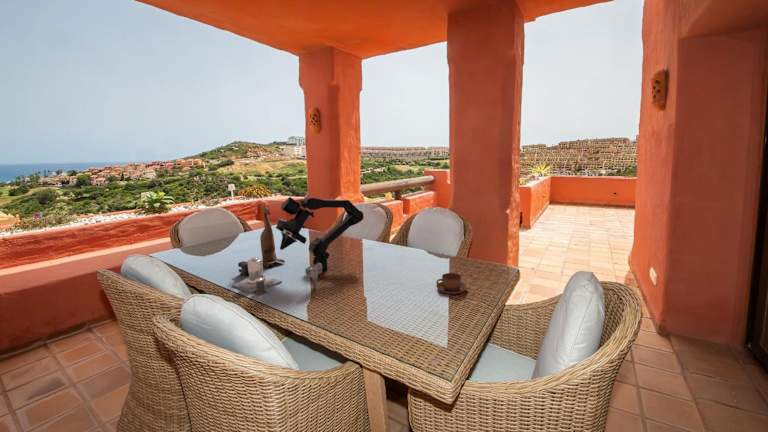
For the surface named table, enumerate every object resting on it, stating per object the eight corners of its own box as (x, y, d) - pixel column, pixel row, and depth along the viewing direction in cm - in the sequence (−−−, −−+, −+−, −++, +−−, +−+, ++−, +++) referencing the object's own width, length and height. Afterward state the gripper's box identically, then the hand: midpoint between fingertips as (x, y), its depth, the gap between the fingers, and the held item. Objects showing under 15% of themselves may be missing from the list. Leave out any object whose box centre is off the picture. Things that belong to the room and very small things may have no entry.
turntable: (262, 276, 162) (262, 273, 162) (281, 282, 153) (281, 279, 153) (231, 286, 151) (231, 282, 151) (250, 293, 142) (250, 289, 141)
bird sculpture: (268, 269, 173) (262, 206, 168) (253, 266, 179) (247, 205, 174) (285, 263, 182) (280, 203, 177) (270, 260, 188) (265, 202, 183)
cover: (268, 277, 156) (266, 255, 154) (262, 283, 148) (260, 260, 146) (251, 278, 156) (249, 256, 154) (244, 284, 148) (242, 261, 146)
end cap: (245, 278, 161) (244, 264, 160) (238, 275, 165) (236, 261, 164) (265, 272, 168) (264, 259, 167) (257, 270, 173) (256, 256, 172)
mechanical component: (324, 284, 149) (323, 262, 148) (311, 293, 140) (310, 269, 138) (318, 284, 150) (316, 261, 149) (305, 292, 141) (304, 269, 139)
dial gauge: (267, 292, 142) (266, 279, 141) (257, 294, 140) (256, 281, 139) (264, 289, 145) (262, 276, 144) (254, 292, 143) (253, 278, 142)
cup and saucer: (448, 298, 131) (448, 283, 130) (430, 288, 142) (430, 274, 141) (473, 292, 137) (473, 277, 136) (453, 283, 147) (453, 269, 146)
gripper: (276, 207, 162) (257, 236, 159) (297, 217, 150) (277, 248, 146) (293, 218, 170) (276, 246, 167) (314, 228, 158) (296, 258, 154)
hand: (280, 249), depth 158 cm, fingers closed
